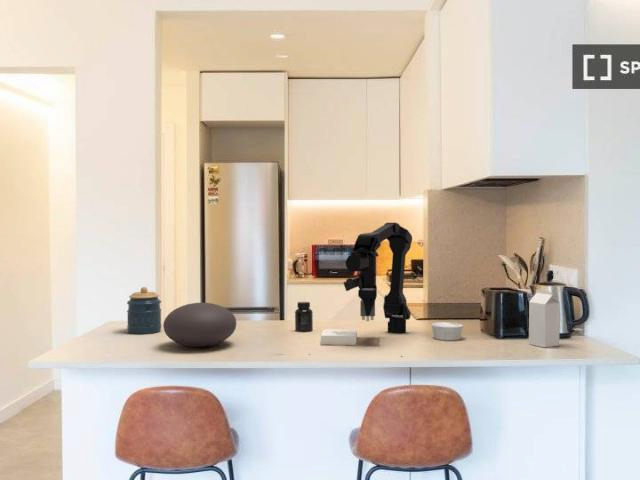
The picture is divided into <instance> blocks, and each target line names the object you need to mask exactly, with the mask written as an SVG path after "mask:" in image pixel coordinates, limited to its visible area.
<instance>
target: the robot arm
mask: <svg viewBox="0 0 640 480" xmlns="http://www.w3.org/2000/svg"><path fill="white" fill-rule="evenodd" d="M385 240H386V241H387V242H389V243H388V246H389V248H390V251H391V253H392V261H391V272H390V273H391V274H390V287H389V292H388V294H385V295H384V297H383V306H382V307H383V313H384V319H388V321H387V333H388V334H389V333H390V334H406V332H407V320H410V319H411V311H410V308H409V307H408V304H407V298H406V296H405V294H404V281H405V280H404V279H405V268H406V266H405V265H406V255H407V254H408V252H409V251H410V250H411V247H412V242H413V236H412V234H411V233H410V231H409V230H408V229H406V228H404V227H403V226H401V225H400V224H399V223H398V222H385V223H384V224H383V225H382V226H380V227H378V228H377V229H375V230H373V231H371V232H365V233H360V234H359V235H357V238H356V240H355V243H354V245H353V248H352V251H350V255H348V256H347V258H346V260H345V266H346V268H347V270H348V271H349V272H352V273H355V272H359V273H358V276H356V277H354V278H352V277H348V278H346V279H345V281H343V286H344V289H345V291H346V292H349V291H351V290H353V289H355V288H357V287H358V292H357V293H358V294H357V295H358V296H357V297H358V298H359V299H360V300H363V302H364V307H365V312H366V316H369V315H370V312H371V310H372V307H373V305H374V302H375V303H376V299H377V297H378V296H377V293H378V292H377V288H378V286H377V257H379V256H380V255H379V253H378V252H377V251H378V249H379V248H380V247H381V246H382V245H381V243H382V242H384V241H385ZM366 316H365V317H366ZM369 317H370V316H369Z"/></svg>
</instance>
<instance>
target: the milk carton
mask: <svg viewBox="0 0 640 480" xmlns="http://www.w3.org/2000/svg"><path fill="white" fill-rule="evenodd" d="M535 291H536V292H535V294H534V295H533V296H532V298H531V299H530V300H529V303H528V315H529V316H528V344H529V345H530V346H531V345H532V346H536V347H541V348H550V347H552V348H553V347H558V346H560V315H561V314H560V309H561V307H560V305H561V304H560V302H559V300H558V299H557V298H556V297H555V296H554V292H553V291H549V290H548V291H547V290H543V289H542V290H541V289H536V290H535Z"/></svg>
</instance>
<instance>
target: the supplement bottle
mask: <svg viewBox="0 0 640 480" xmlns="http://www.w3.org/2000/svg"><path fill="white" fill-rule="evenodd" d="M296 307H297V309H295V311H294V313H295V314H294V328H295V329H294V331H295V332H297V333H310V332H313V329H314V328H313V327H314V326H313V325H314V323H313V322H314V319H313V317H314V315H313V313H314V312H313V309H311V302H309V301H298V302H297V306H296Z"/></svg>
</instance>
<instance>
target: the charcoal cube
mask: <svg viewBox="0 0 640 480" xmlns="http://www.w3.org/2000/svg"><path fill="white" fill-rule="evenodd" d="M359 304H360V308H359V309H360V317H361V320H362V321H366V322H370V321H374V320H375V319H374V317H375V316H376V301H375V302H374V305H373V307H372V310H371V312H370V315H369V316H366V312H365V307H364V302H363V300H362V299H360V303H359Z"/></svg>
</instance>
